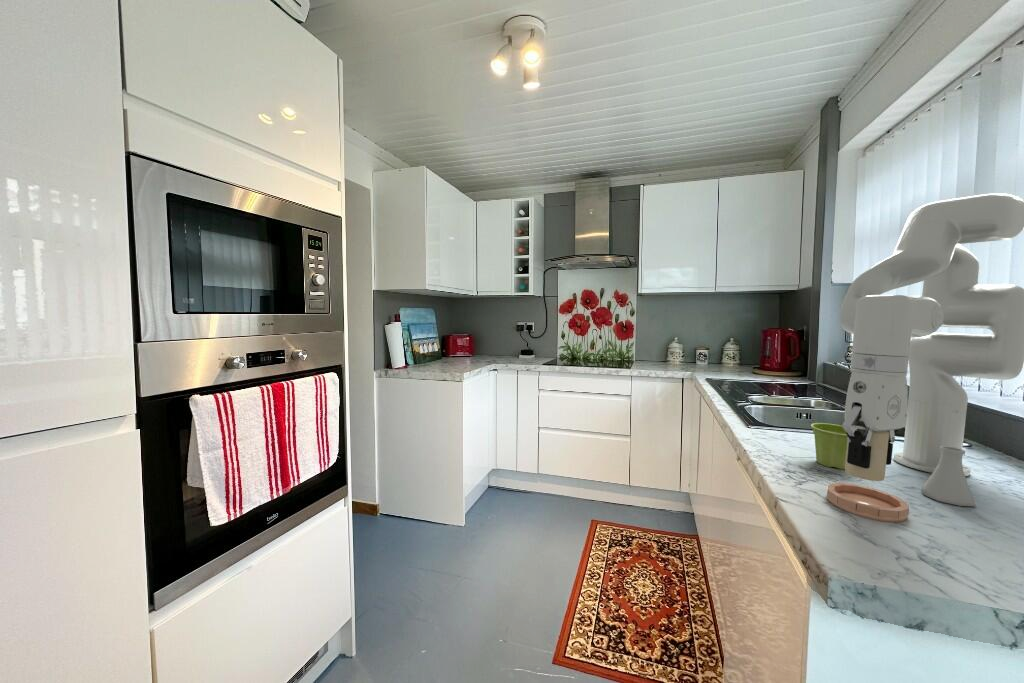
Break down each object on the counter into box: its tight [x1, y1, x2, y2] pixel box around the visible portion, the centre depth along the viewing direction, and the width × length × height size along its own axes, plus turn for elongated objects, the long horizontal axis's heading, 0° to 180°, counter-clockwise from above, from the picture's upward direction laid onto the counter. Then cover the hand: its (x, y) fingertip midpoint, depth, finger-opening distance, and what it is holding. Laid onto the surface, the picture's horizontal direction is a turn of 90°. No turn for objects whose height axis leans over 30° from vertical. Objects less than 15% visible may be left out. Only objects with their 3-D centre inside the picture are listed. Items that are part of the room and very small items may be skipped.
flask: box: [920, 446, 977, 507], centre depth 78 cm, size 7×7×10 cm
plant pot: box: [810, 422, 848, 470], centre depth 95 cm, size 9×9×9 cm
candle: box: [844, 423, 889, 482], centre depth 74 cm, size 6×6×10 cm
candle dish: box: [826, 482, 910, 523], centre depth 74 cm, size 11×11×2 cm
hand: (868, 463), depth 73 cm, fingers closed on candle, 5 cm apart
